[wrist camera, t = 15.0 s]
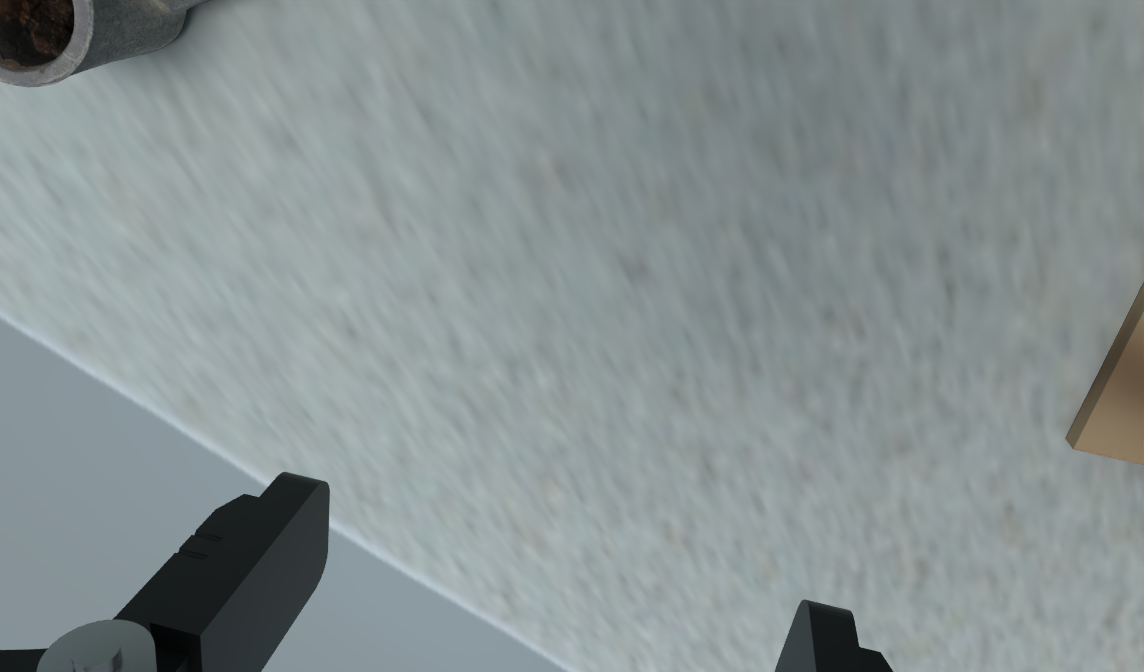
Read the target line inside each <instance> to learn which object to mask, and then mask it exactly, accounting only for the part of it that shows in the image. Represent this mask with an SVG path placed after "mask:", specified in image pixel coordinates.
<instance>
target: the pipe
mask: <svg viewBox="0 0 1144 672" xmlns="http://www.w3.org/2000/svg"><path fill="white" fill-rule="evenodd" d="M206 1H209V0H0V81H1V82H4V83H8V84H12V85H17V86H23V87H39V86H46V85H51V84H55V83H57V82H59V81H62V80H63V79H65V78H67V77H69V76H71V75H74V74H77V73H79V72H82V71H85V70H88V69H91V68H94V67H97V66H100V65H103V64H107V63H110V62H113V61H118V60H122V59H126V58H130V57H133V56H138V55H143V54H147V53H150V52H153V51H155V50H158V49H160V48H162V47H164V46H166V45H167V44H169V43H170V42H172V41H173V40H174V39H175V38H176V37H177V36H178V35H179V34H180V32H181V30H182V27H183V24H184V20H185V16H186V10H188V9H189V8H191V7H193V6H195V5H198V4H201V3H203V2H206Z"/></svg>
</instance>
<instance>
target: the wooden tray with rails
mask: <svg viewBox="0 0 1144 672" xmlns="http://www.w3.org/2000/svg"><path fill="white" fill-rule="evenodd" d="M1066 440H1067V441H1068V443H1069V444H1070V445H1071V447H1072V448H1073V449H1074V450H1079V451H1083V452H1088V453H1092V454H1097V455H1101V456H1106V457H1110V458H1115V459H1119V460H1124V461H1129V462H1133V463H1138V464H1142V465H1144V284H1143V286H1142V288H1141V290H1140V292H1139V294H1138V296H1137V298H1136V300H1135V302H1134V304H1133V306H1132V308H1131V310H1130V312H1129V314H1128V316H1127V318H1126V320H1125V322H1124V324H1123V325H1122V327H1121V329H1120V331H1119V333H1118V335H1117V337H1116V339H1115V341H1114V343H1113V345H1112V347H1111V349H1110V351H1109V353H1108V355H1107V357H1106V359H1105V361H1104V363H1103V365H1102V367H1101V369H1100V371H1099V373H1098V375H1097V377H1096V379H1095V381H1094V383H1093V385H1092V387H1091V389H1090V391H1089V393H1088V395H1087V397H1086V399H1085V401H1084V403H1083V405H1082V407H1081V409H1080V411H1079V413H1078V415H1077V417H1076V419H1075V421H1074V423H1073V425H1072V427H1071V429H1070V431H1069V433H1068V435H1067V437H1066Z"/></svg>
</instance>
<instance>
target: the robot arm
mask: <svg viewBox="0 0 1144 672" xmlns="http://www.w3.org/2000/svg"><path fill="white" fill-rule="evenodd" d="M329 498H330V490H329V485H328V483H327V482H325V481H321V480H317V479H313V478H309V477H304V476H300V475H296V474H292V473H288V472H283V473H281V474H279V475H278V476H277V477H276V479H275V480H274V481H273V482H272V483H271V484H270V485H269V487H268V488H267V489H266V490H265V491H264V492H263V493H262V495H261V496H260V497H255V496H251V495H246V494H243V495H241V496H240V497H238V498H236V499H234V500H232V501H230V502H229V503H227V504H225V505H224V506H221V507H219V508H218V509H216V510H215V511H214V512H213V513H212V514H211V515H210V516H209V517H208V518H207V519H206V520H205V521H204V522H203V524H202V525H201V526H200V527H199V528H198V529H197V530H196V532H195V535H191V536H190V537H189V539H188V540H187V541H186V542H185V543H184V544H183V545H182V546H181V547H180V549H179V552H178V553H174V555H173V556H172V557H171V558H170V559H169V560H168V561H167V562H166V563H165V564H164V565H163V566H162V568H161V569H160V570H159V571H158V572H157V573H156V574H155V575H154V576H153V577H152V578H151V579H150V580H149V581H148V582H147V583H146V585H145V586H144V587H143V588H142V589H141V590H140V591H139V592H138V593H137V594H136V595H135V596H134V598H133V599H132V600H131V601H130V602H129V603H128V604H127V605H126V606H125V607H124V608H123V609H122V610H121V611H120V612H119V613H118V614H117V616H116V617H115V618H113V619H112V620H103V621H97V622H93V623H89V624H86V625H84V626H81V627H78V628H76V629H74V630H72V631H70V632H68V633H66V634H65V635H63V636H62V637H60V638H59V639H58V640H57V641H55V642H54V643H53V644H52V645H51V646H50V647H49V648H47V649H31V650H0V672H261V671H262V669H263V668H264V666H265V665H266V663H267V662H268V660H269V659H270V657H271V656H272V654H273V653H274V651H275V650H276V648H277V646H278V645H279V644H280V642H281V641H282V639H283V638H284V636H285V634H286V633H287V632H288V630H289V628H290V627H291V625H292V624H293V622H294V621H295V619H296V618H297V616H298V615H299V613H300V612H301V610H302V609H303V607H304V606H305V604H306V603H307V601H308V600H309V598H310V597H311V595H312V593H313V592H314V591H315V589H316V587H317V585H318V583H319V581H320V579H321V577H322V574H323V571H324V568H325V564H326V559H327V554H328V531H329ZM775 672H893V671H892V669H891V667H890V666H889V664H888V663H887V661H886V660H885V658H884V657H883V655H882V654H881V652H877V651H873V650H869V649H865V648H861V647H859V643H858V637H857V632H856V626H855V621H854V617H853V614H852V612H851V611H850V610H846V609H842V608H838V607H834V606H829V605H825V604H821V603H817V602H813V601H809V600H802V602H801V603H800V605H799V607H798V609H797V612H796V615H795V617H794V620H793V623H792V625H791V628H790V631H789V633H788V636H787V639H786V641H785V644H784V647H783V650H782V652H781V655H780V658H779V660H778V663H777V666H776V669H775Z"/></svg>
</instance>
